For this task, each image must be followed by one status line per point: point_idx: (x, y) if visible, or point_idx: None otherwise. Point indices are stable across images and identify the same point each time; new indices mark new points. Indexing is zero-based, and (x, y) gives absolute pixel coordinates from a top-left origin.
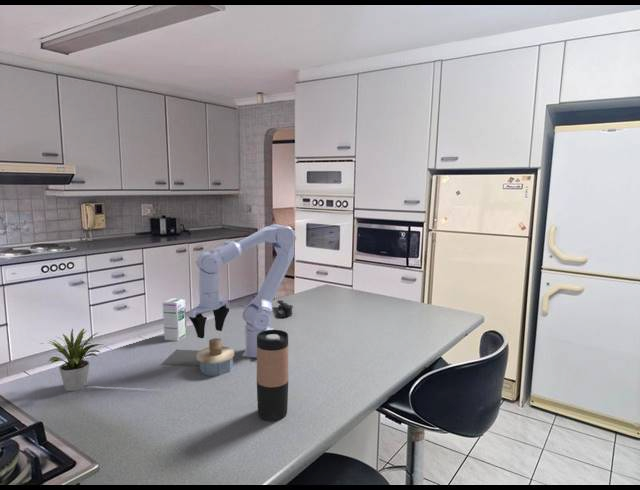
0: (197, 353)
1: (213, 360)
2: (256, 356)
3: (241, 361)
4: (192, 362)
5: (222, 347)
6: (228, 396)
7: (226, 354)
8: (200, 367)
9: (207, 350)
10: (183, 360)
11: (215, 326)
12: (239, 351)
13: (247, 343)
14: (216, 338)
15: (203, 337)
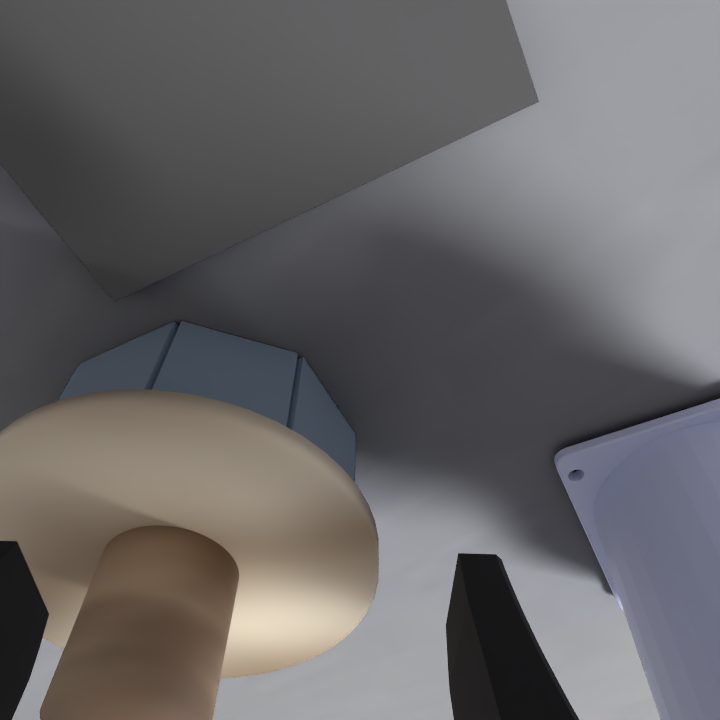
0: (7, 444)
1: (50, 634)
2: (593, 547)
3: (475, 484)
4: (120, 172)
5: (339, 535)
6: (36, 659)
7: (227, 640)
8: None
9: (158, 471)
10: (65, 8)
11: (469, 608)
12: (695, 346)
13: (641, 579)
14: (186, 704)
15: (37, 622)
